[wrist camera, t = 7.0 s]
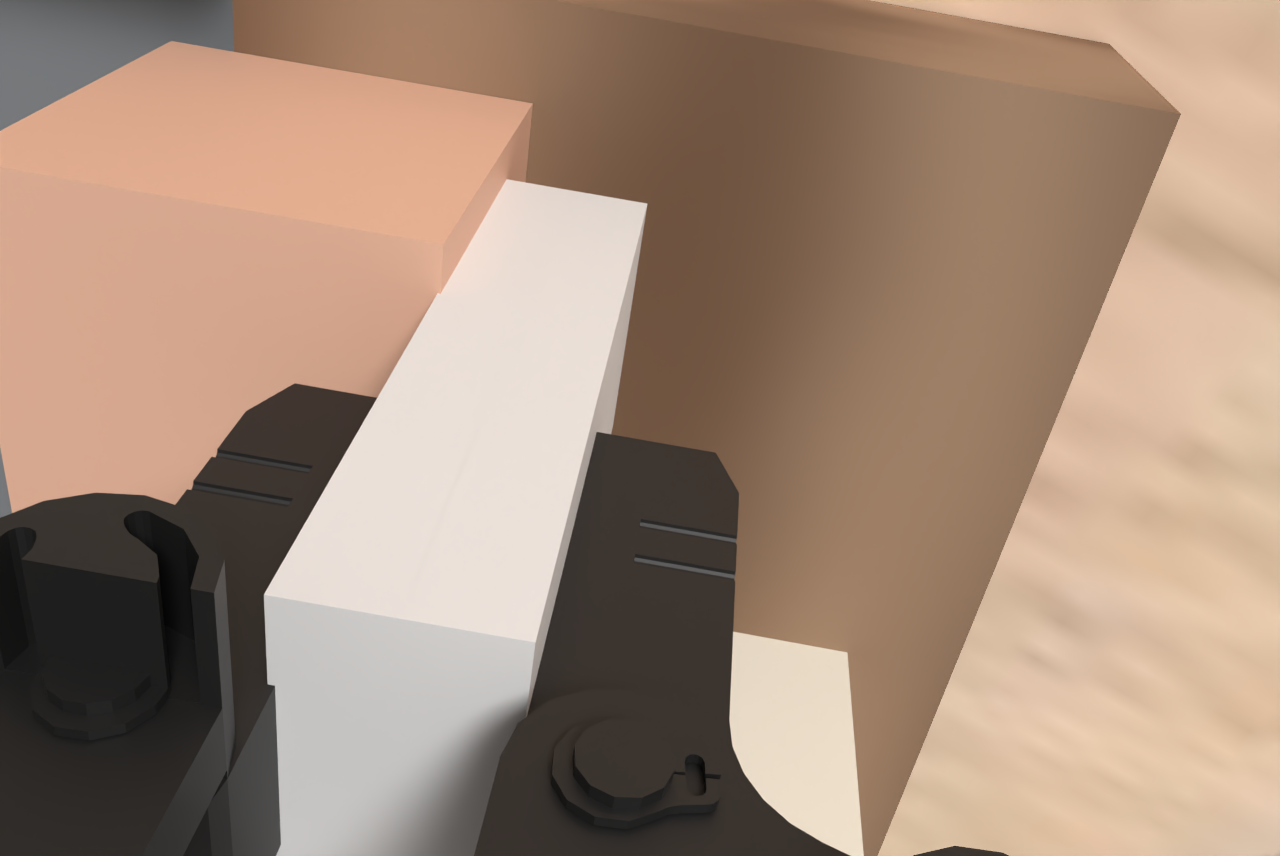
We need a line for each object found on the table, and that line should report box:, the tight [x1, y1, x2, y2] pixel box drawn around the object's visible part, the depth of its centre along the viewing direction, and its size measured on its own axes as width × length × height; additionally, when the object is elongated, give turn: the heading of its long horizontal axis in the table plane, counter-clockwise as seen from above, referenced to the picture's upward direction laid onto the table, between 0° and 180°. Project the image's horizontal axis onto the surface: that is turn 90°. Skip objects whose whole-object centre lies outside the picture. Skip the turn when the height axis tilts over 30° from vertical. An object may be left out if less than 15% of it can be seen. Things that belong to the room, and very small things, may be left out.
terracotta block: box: [0, 41, 533, 513], centre depth 12 cm, size 4×4×4 cm
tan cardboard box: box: [232, 0, 1181, 856], centre depth 17 cm, size 10×13×3 cm
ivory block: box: [729, 632, 864, 856], centre depth 16 cm, size 4×4×4 cm
